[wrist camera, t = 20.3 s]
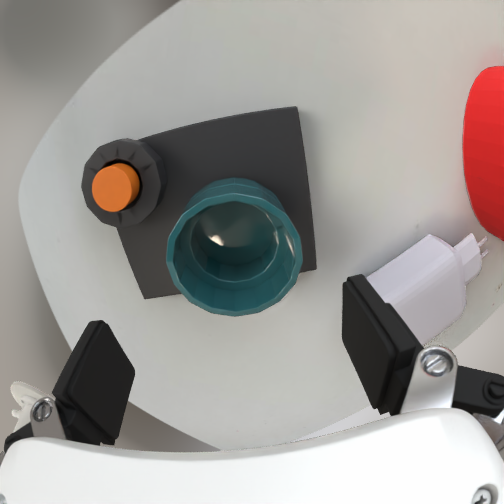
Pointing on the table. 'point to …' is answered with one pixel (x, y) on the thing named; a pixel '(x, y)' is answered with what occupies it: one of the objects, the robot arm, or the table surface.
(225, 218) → the bowl
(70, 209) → the table surface
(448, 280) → the charger
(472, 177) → the toy clock
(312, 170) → the table surface
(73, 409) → the robot arm
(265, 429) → the table surface
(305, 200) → the dark grey flat slab
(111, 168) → the button
